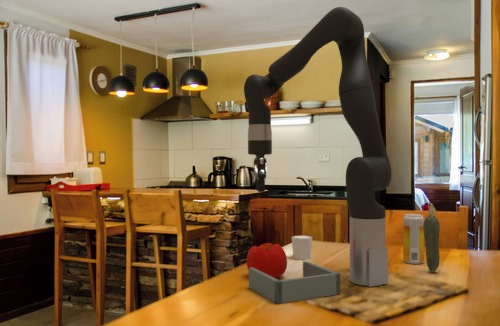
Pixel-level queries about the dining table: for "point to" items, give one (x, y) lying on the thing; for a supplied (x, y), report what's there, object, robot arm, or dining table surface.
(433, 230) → the vegetable
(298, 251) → the white cylindrical piece
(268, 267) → the tomato
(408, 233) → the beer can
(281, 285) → the crate
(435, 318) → the dining table surface
